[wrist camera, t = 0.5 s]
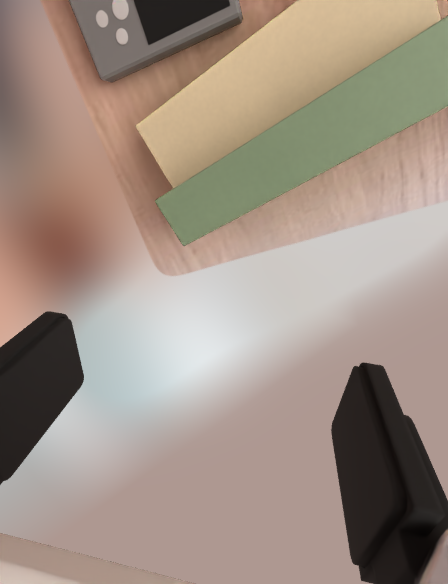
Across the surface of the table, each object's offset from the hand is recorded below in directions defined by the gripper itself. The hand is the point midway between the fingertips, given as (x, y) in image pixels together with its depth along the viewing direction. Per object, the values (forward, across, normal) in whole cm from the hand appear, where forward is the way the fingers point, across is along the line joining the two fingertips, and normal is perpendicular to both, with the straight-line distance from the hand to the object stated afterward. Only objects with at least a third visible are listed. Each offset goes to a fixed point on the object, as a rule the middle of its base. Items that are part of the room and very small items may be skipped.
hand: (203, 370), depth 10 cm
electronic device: (+30, +12, -18) cm, 37 cm away
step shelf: (+30, -1, -8) cm, 31 cm away
